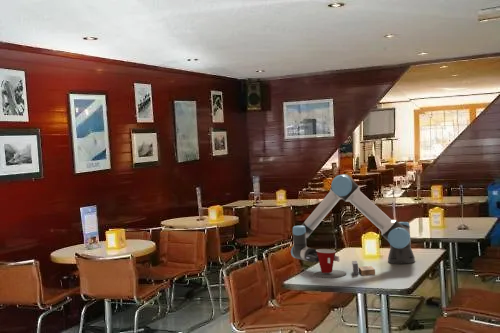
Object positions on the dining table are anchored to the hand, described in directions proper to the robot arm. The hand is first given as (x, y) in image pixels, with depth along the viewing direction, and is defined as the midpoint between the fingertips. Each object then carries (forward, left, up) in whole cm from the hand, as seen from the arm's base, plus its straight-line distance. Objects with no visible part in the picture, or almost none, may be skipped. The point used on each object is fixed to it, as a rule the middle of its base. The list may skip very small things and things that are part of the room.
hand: (334, 259), depth 299 cm
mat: (+3, -4, -9) cm, 10 cm away
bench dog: (-11, -4, -9) cm, 15 cm away
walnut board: (-17, -4, -9) cm, 20 cm away
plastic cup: (+4, -3, -7) cm, 9 cm away
